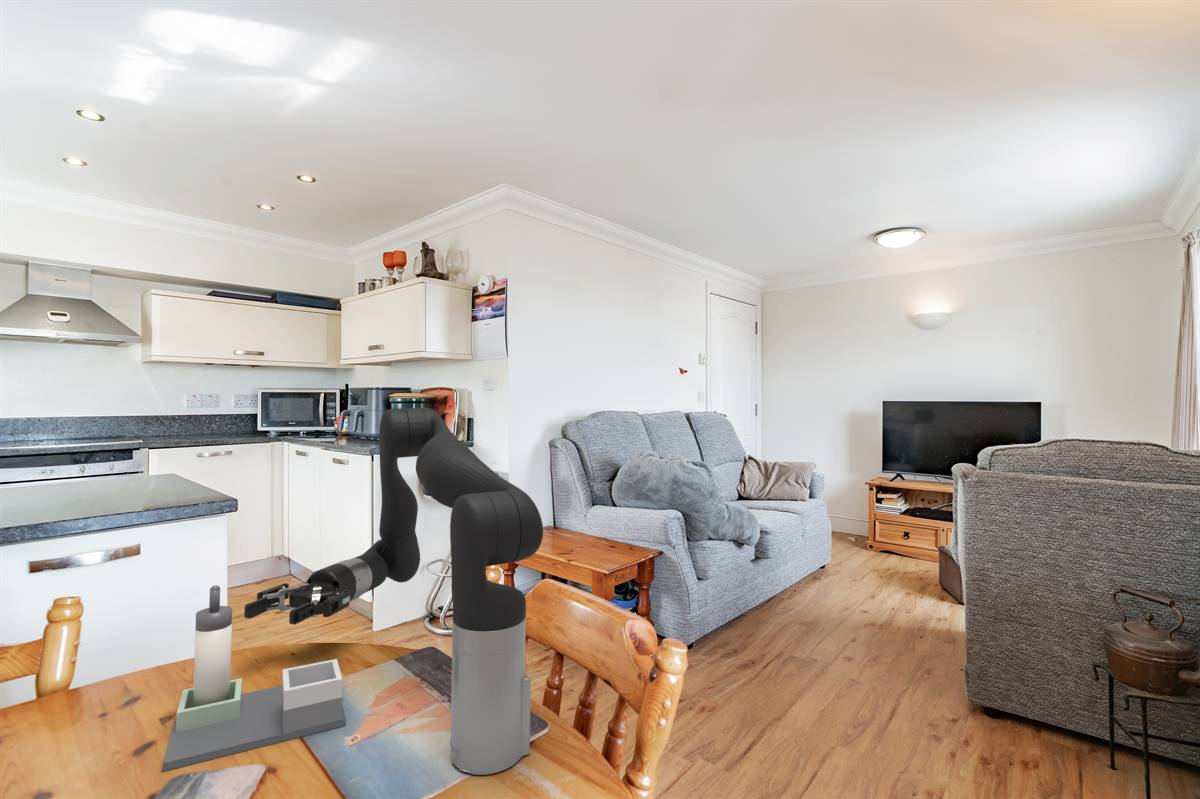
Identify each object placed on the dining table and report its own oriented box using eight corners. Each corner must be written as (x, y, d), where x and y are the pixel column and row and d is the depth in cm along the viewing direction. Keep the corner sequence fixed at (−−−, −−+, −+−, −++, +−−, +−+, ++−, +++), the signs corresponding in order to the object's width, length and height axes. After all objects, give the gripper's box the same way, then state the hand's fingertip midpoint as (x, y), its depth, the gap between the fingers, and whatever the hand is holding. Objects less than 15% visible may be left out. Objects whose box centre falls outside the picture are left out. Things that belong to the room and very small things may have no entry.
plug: (230, 701, 81) (233, 579, 82) (228, 715, 78) (232, 587, 78) (194, 708, 79) (198, 583, 79) (190, 723, 76) (195, 592, 76)
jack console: (334, 680, 90) (335, 639, 90) (345, 725, 77) (346, 678, 78) (178, 713, 80) (179, 667, 80) (162, 771, 67) (164, 717, 67)
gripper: (308, 559, 105) (231, 586, 90) (374, 566, 102) (307, 595, 86) (307, 600, 105) (230, 634, 90) (373, 608, 102) (306, 644, 86)
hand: (268, 615), depth 88 cm, fingers open, 8 cm apart
